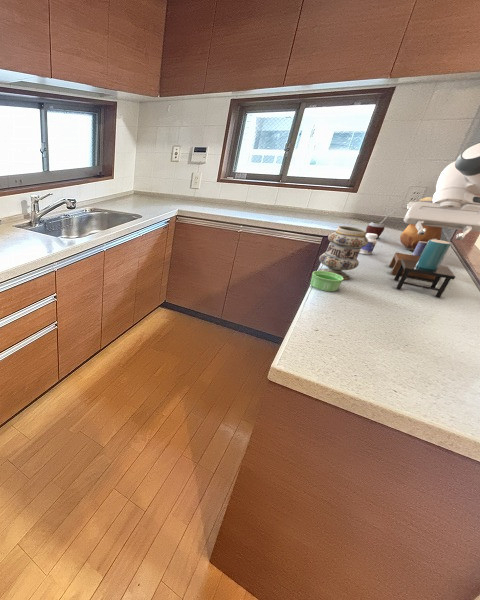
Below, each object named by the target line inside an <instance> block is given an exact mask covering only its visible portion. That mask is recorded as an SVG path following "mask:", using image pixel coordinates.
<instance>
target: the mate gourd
mask: <svg viewBox="0 0 480 600" xmlns="http://www.w3.org/2000/svg"><path fill="white" fill-rule="evenodd" d="M396 213H397V211H394V212H391V213H389V214H387V215H386V216H385V217H384V219H383V220H381V222H378V221H371V222H370V223H369V224H368V225H366V228H365V231H366V234H367V233H373V234H377V235H378V236H377V238H376V240H378V239H380V236H381V235H382V233H383V232H384V231H385V224H384V222H385V220H387V218H389V217H390V216H391V215H393V214H396Z"/></svg>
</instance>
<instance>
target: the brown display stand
mask: <svg viewBox="0 0 480 600" xmlns="http://www.w3.org/2000/svg"><path fill="white" fill-rule="evenodd" d="M419 258H420V256H415V255H412V254H407V253H402V252H395V253H394V254H393V257H392V258H391V261H390V263H389V265H388V267H389V268H391V272H390V275H391V276H392V275H393V276H396V274H397V272H398V270H399V268H400V266H401V264H402V263H401V260H402V259H406V260H412V261H418V260H419ZM404 272H405V271H404V270H403V272H402V274H404ZM408 275H411V276H417V277H422V278H427V279H433V280H435V278H436V276H432V275H426V274H421V273H415V272H409V274H408ZM407 278H408V279H412V280H413V279H414V280H417V281H424V282H429V283H433V282H432V281H427V280H422V279H416V278H411V277H407Z"/></svg>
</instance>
